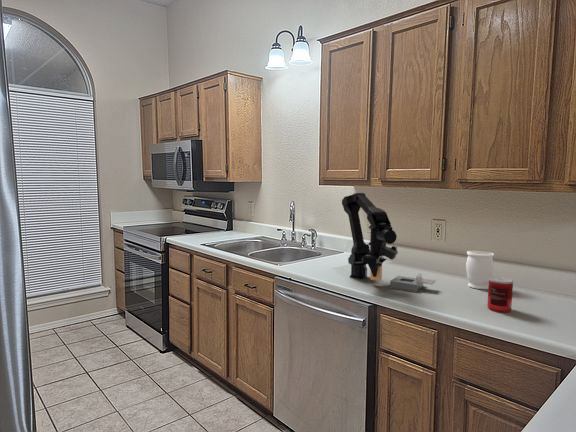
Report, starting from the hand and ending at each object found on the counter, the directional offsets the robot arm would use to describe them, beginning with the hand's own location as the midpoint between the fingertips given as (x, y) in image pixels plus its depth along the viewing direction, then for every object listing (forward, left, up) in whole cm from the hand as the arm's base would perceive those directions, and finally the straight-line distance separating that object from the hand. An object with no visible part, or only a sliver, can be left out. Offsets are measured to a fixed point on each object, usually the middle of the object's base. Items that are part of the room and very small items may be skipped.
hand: (376, 275), depth 174 cm
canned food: (+48, -6, -4) cm, 48 cm away
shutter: (+20, +5, -1) cm, 20 cm away
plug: (0, 0, -2) cm, 2 cm away
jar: (+38, +22, -4) cm, 44 cm away
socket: (+12, +5, -4) cm, 14 cm away
